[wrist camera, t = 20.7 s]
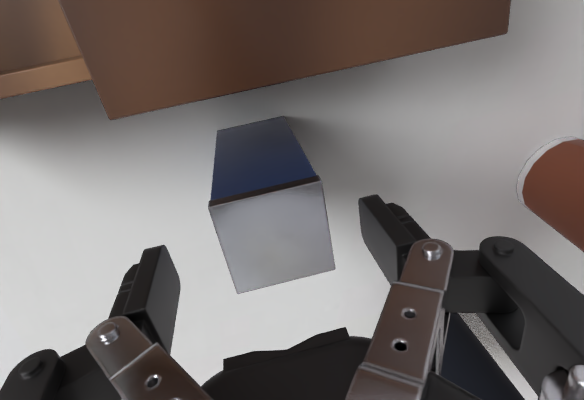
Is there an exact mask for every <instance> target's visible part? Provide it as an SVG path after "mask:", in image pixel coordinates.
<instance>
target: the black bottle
mask: <svg viewBox="0 0 584 400" xmlns="http://www.w3.org/2000/svg"><path fill="white" fill-rule="evenodd" d="M441 376H442V377H443V378H445V379H447V380H448V381H450V382H452V383H454V384H455V385H457V386H459V387H461V388H462V389H464V390H466V391H468V392H469V393H471V394H473V395H475V396H476V397H478V398H480V399H482V400H525V399H524V398H523V397H522V395H521V394H520V393H519V391H518V390H517V389H516V388H515V386H514V385H513V384H512V382H511V381H510V380H509V379H508V377H507V376H506V375H505V373H504V372H503V371H502V370H501V368H500V367H499V366H498V364H497V363H496V362H495V361H494V359H493V358H492V357H491V355H490V354H489V353H488V351H487V350H486V349H485V348H484V346H483V345H482V344H481V342H480V341H479V340H478V339H477V337H476V336H475V335H474V333H473V332H472V331H471V330H470V328H469V327H468V326H467V324H466V323H465V322H464V321H463V319H462V318H461V317H460V315H459V314H458V313H450V319H449V325H448V330H447V336H446V342H445V348H444V353H443V361H442V370H441Z"/></svg>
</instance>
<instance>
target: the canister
mask: <svg viewBox="0 0 584 400" xmlns="http://www.w3.org/2000/svg"><path fill="white" fill-rule="evenodd" d="M208 209H209V212H210V215H211V218H212V221H213V224H214V227H215V230H216V233H217V236H218V239H219V242H220V245H221V248H222V250H223V253H224V256H225V259H226V262H227V265H228V268H229V271H230V274H231V277H232V280H233V283H234V286H235V289H236V292H237V294H240V293H244V292H248V291H252V290H256V289H260V288H264V287H268V286H272V285H276V284H280V283H284V282H287V281H291V280H295V279H299V278H303V277H307V276H311V275H315V274H319V273H323V272H327V271H331V270H335V263H334V256H333V250H332V243H331V237H330V231H329V224H328V218H327V211H326V205H325V198H324V192H323V186H322V181H321V179H320V177H319V176H318V175H316V173H315V171H314V170H313V168H312V166H311V164H310V162H309V161H308V159H307V157H306V155H305V153H304V152H303V150H302V148H301V146H300V144H299V143H298V141H297V139H296V137H295V135H294V134H293V132H292V130H291V128H290V127H289V125H288V123H287V121H286V119H285V118H284V116H281V117H277V118H272V119H268V120H263V121H259V122H255V123H250V124H246V125H241V126H237V127H232V128H228V129H223V130H219V131H217V137H216V148H215V158H214V169H213V180H212V190H211V200H210V201H209V204H208Z"/></svg>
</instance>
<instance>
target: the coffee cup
mask: <svg viewBox="0 0 584 400" xmlns="http://www.w3.org/2000/svg"><path fill="white" fill-rule="evenodd" d="M516 190H517V194H518V198H519V201H520V202H521V203H522V204H523V205H524V206H525V207H526V208H527V209H529V210H530V211H532V212H533V213H535V214H536V215H537V216H538V217H540V218H541V219H542V220H544V221H545V222H546V223H547V224H549V225H550V226H551V227H552V228H554V229H555V230H556V231H558V232H559V233H560V234H561V235H563V236H564V237H565V238H566V239H568V240H569V241H570V242H571V243H573V244H574V245H575V246H577V247H578V248H579V249H580V250H582V251H583V252H584V140H581V139H578V138H575V137H566V138H560V139H556V140H554V141H552V142H550V143H548V144H546V145H544V146H543V147H541V148H540V149H539V150H538V151H537V152H536V153H535V154H534V155H533V156H532V157H530V158H529V159H528V161H527V162H526V164H525V166H524V167H523V169H522V171H521V173H520V174H519V178H518V183H517V188H516Z"/></svg>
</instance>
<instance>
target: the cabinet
mask: <svg viewBox="0 0 584 400" xmlns="http://www.w3.org/2000/svg"><path fill="white" fill-rule="evenodd" d="M58 2H59V4H60V7H61V9H62V11H63V14H64V16H65V18H66V21H67V23H68V25H69V27H70V30H71V32H72V34H73V37H74V39H75V41H76V44H77V46H78V48H79V51H80V53H81V55H82V57H83V60H84V62H85V64H86V67H87V69H88V71H89V74H90V76H91V78H92V81H93V83H94V85H95V88H96V90H97V92H98V94H99V97H100V99H101V101H102V104H103V106H104V108H105V111H106V113H107V115H108V118H109V119H110V120H115V119H119V118H124V117H128V116H133V115H138V114H142V113H147V112H151V111H156V110H160V109H165V108H170V107H174V106H179V105H183V104H188V103H193V102H197V101H202V100H206V99H211V98H215V97H220V96H225V95H229V94H234V93H238V92H243V91H248V90H252V89H257V88H261V87H266V86H270V85H275V84H280V83H284V82H289V81H293V80H298V79H303V78H307V77H312V76H316V75H321V74H325V73H330V72H335V71H339V70H344V69H348V68H353V67H358V66H362V65H367V64H371V63H376V62H380V61H385V60H390V59H394V58H399V57H403V56H408V55H412V54H417V53H422V52H426V51H431V50H435V49H440V48H445V47H449V46H454V45H458V44H463V43H467V42H472V41H477V40H481V39H486V38H490V37H495V36H500V35H504V34H506V33H507V32H508V24H509V14H510V4H511V0H58Z"/></svg>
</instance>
